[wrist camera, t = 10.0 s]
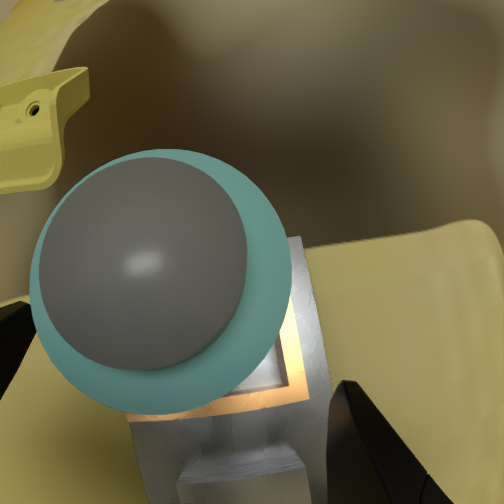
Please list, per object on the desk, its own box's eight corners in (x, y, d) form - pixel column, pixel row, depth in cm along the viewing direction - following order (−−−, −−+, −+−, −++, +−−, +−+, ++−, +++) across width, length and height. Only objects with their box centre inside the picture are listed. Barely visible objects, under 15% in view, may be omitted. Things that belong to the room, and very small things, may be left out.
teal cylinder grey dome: (263, 372, 16) (330, 396, 4) (165, 385, 15) (14, 417, 4) (247, 277, 18) (265, 109, 6) (153, 290, 17) (25, 156, 5)
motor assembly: (349, 564, 12) (396, 629, 4) (187, 588, 11) (170, 663, 3) (295, 245, 20) (332, 167, 12) (121, 270, 19) (56, 207, 11)
